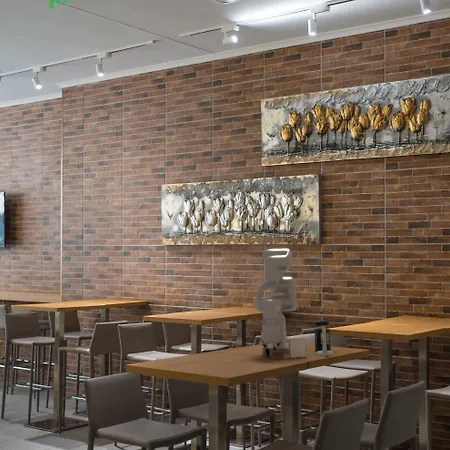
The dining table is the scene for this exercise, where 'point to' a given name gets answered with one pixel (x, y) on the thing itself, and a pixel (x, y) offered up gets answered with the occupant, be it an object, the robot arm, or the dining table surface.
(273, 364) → the dining table surface
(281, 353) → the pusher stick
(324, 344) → the black and grey stand
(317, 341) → the french press
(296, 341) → the tile
